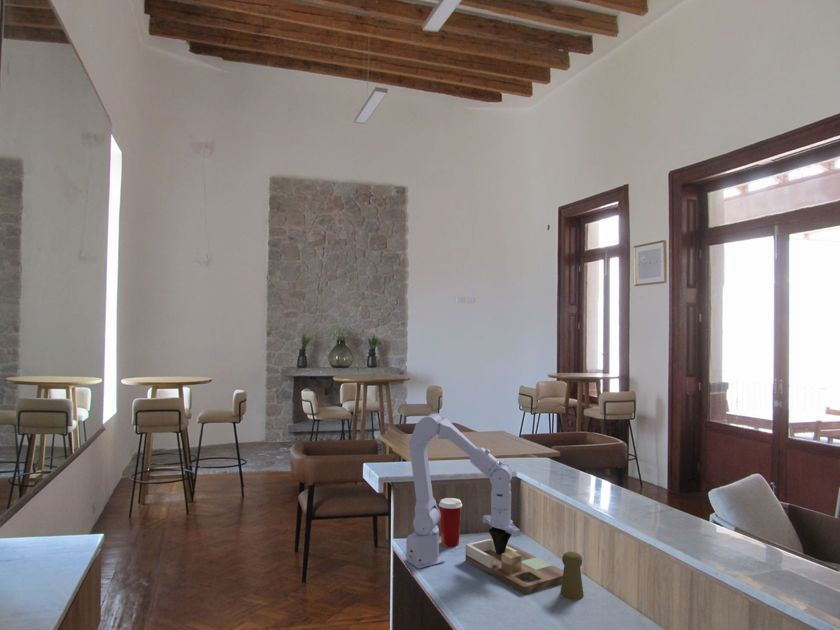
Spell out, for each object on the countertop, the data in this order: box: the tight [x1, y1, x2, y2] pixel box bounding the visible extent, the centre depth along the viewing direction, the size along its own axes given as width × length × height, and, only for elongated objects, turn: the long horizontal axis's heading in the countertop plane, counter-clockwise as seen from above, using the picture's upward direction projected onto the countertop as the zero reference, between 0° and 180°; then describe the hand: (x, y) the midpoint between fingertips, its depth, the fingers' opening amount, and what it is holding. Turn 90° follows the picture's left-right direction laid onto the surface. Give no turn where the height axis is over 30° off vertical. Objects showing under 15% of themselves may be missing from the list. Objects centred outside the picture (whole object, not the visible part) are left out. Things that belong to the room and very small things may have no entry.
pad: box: [522, 556, 552, 570], centre depth 181 cm, size 6×7×2 cm
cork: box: [559, 551, 585, 601], centre depth 165 cm, size 6×6×11 cm
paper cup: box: [438, 497, 463, 548], centre depth 201 cm, size 8×8×14 cm
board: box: [465, 543, 564, 595], centre depth 180 cm, size 17×26×2 cm, turn 32°
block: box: [502, 551, 522, 572], centre depth 177 cm, size 4×4×4 cm
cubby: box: [465, 537, 517, 568], centre depth 185 cm, size 10×12×3 cm
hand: (500, 553), depth 181 cm, fingers closed
